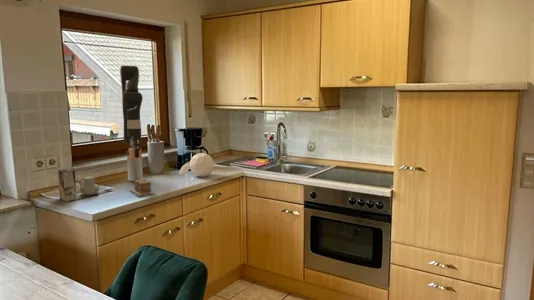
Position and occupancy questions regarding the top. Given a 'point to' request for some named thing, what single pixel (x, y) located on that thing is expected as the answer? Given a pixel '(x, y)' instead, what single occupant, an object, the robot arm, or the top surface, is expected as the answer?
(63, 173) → the coffee box
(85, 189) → the air freshener
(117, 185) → the top surface
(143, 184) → the walnut block
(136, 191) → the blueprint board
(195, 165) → the cream rounded faceted piece
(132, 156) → the terracotta cube
